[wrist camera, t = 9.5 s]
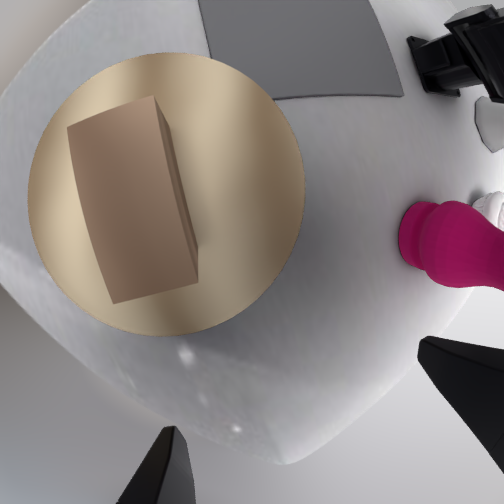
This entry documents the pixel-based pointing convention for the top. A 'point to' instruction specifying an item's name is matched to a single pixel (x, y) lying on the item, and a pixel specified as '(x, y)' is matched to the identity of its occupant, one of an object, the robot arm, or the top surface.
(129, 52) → the top surface
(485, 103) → the flask
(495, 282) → the pepper mill
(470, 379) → the robot arm
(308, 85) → the mat
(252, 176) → the lid
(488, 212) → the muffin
